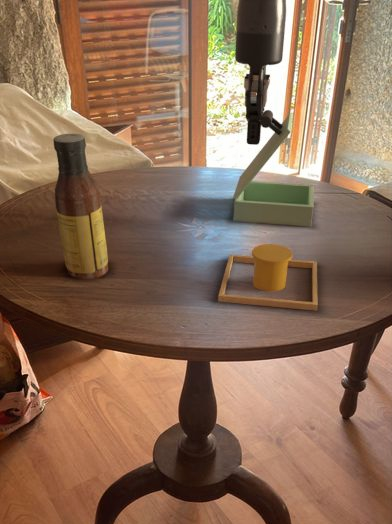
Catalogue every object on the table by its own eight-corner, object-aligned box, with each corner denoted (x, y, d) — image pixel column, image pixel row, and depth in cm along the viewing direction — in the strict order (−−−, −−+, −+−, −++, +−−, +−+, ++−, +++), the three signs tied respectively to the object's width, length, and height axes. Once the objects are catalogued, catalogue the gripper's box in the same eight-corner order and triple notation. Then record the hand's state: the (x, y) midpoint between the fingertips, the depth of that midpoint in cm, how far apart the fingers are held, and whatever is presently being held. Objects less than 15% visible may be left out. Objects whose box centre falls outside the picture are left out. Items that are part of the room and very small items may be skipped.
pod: (289, 278, 83) (293, 245, 81) (288, 296, 79) (292, 262, 76) (251, 275, 84) (253, 242, 81) (247, 293, 80) (250, 259, 77)
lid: (292, 115, 100) (272, 98, 99) (290, 132, 91) (268, 112, 90) (242, 179, 108) (222, 163, 107) (235, 200, 98) (214, 183, 97)
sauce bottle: (98, 261, 88) (86, 127, 77) (116, 277, 84) (105, 138, 73) (58, 271, 85) (39, 133, 74) (74, 288, 81) (57, 145, 70)
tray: (315, 271, 86) (316, 261, 86) (315, 315, 76) (317, 304, 75) (229, 263, 88) (229, 254, 87) (217, 305, 77) (218, 295, 76)
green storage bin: (310, 207, 109) (313, 185, 106) (310, 230, 99) (313, 207, 97) (239, 202, 110) (241, 180, 108) (232, 224, 101) (234, 201, 99)
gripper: (283, 33, 82) (272, 155, 92) (286, 25, 93) (276, 134, 103) (231, 32, 83) (227, 152, 93) (240, 24, 94) (235, 132, 104)
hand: (253, 143), depth 98 cm, fingers closed
